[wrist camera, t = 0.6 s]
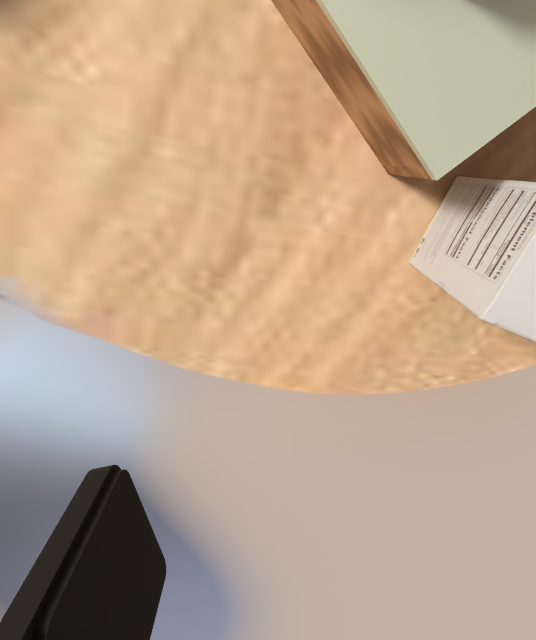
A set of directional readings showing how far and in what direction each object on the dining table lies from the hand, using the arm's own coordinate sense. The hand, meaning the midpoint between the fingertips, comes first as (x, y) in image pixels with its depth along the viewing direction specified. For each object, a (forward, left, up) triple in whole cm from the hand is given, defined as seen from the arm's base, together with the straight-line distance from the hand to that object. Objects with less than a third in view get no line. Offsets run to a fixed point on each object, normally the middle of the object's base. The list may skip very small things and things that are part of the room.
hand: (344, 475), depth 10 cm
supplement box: (+12, +13, -36) cm, 40 cm away
